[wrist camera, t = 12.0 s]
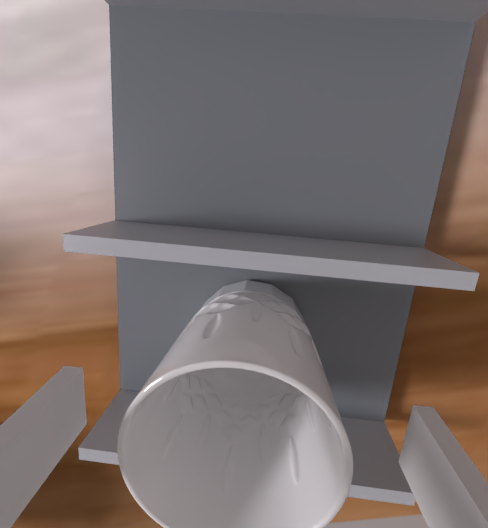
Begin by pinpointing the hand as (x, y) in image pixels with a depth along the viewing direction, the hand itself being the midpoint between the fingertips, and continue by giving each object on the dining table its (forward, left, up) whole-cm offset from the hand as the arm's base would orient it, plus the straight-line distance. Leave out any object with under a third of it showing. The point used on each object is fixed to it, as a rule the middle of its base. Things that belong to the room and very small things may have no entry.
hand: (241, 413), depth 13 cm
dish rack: (-6, 0, -9) cm, 11 cm away
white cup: (0, 0, -8) cm, 8 cm away
